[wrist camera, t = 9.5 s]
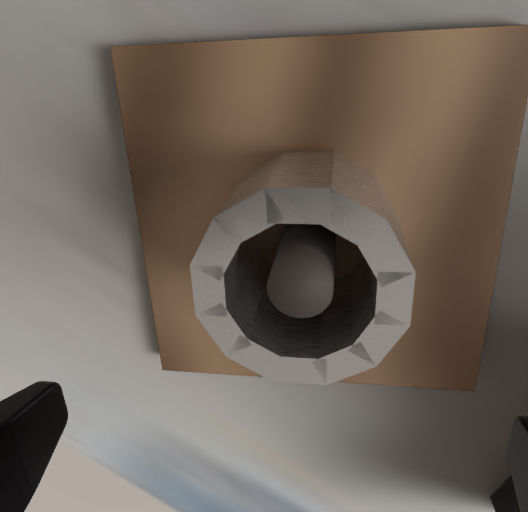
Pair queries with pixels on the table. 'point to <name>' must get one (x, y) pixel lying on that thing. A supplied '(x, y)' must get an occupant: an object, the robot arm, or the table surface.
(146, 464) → the table surface
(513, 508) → the ammunition clip
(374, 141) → the post base
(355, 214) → the tube
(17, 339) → the table surface
